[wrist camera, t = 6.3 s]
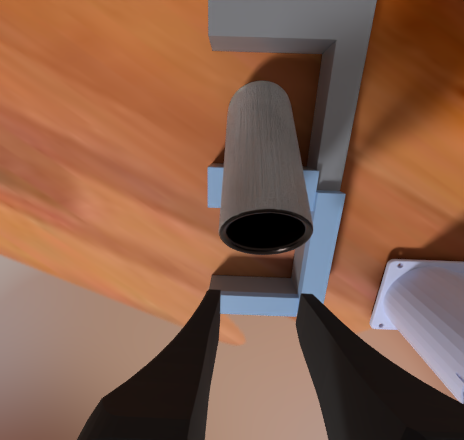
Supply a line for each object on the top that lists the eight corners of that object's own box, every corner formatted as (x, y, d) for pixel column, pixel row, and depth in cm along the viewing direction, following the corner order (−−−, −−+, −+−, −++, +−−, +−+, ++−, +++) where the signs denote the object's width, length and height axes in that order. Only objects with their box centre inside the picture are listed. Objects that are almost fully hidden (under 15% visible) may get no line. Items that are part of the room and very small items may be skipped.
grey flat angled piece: (355, 21, 16) (376, -1, 13) (308, 295, 23) (316, 312, 21) (212, 16, 16) (208, -6, 13) (211, 291, 23) (209, 308, 21)
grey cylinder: (236, 143, 19) (232, 258, 13) (219, 89, 15) (204, 217, 10) (292, 131, 18) (312, 252, 12) (288, 70, 14) (315, 203, 9)
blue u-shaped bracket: (343, 171, 17) (350, 172, 16) (316, 312, 21) (319, 320, 20) (208, 166, 17) (207, 167, 16) (209, 308, 21) (207, 316, 20)
